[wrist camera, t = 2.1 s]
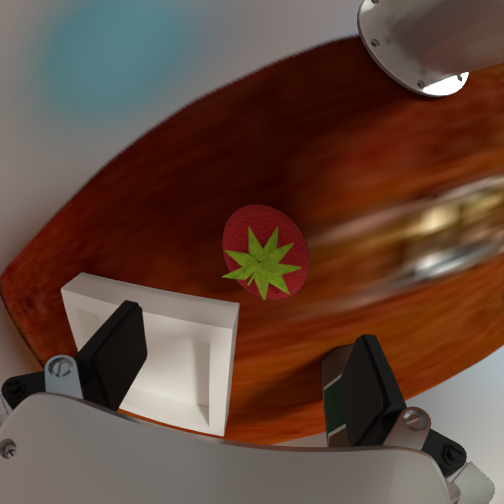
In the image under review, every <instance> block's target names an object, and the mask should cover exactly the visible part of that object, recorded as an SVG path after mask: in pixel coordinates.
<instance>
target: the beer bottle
mask: <svg viewBox="0 0 504 504" xmlns="http://www.w3.org/2000/svg"><path fill="white" fill-rule="evenodd" d="M354 345H355V344H350V345H344V346H338V347H337V348H336V349H335V350H334V351H333V352H332V353H330V354H329V355H328V356H327V357H326V358H325V359H323V360H322V362H321V378H322V394H323V403H324V413H325V423H326V434H327V446H328V447H350V446H349V442H348V436H347V430H346V424H345V419H344V413H343V408H342V403H341V397H340V392H339V387H338V386H339V380H340V378H341V375H342V373H343V371H344V369H345V366H346V364H347V362H348V359H349V357H350V354H351V352H352V350H353V347H354Z"/></svg>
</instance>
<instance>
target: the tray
mask: <svg viewBox="0 0 504 504" xmlns="http://www.w3.org/2000/svg"><path fill="white" fill-rule="evenodd" d="M61 293H62V297H63V301H64V305H65V309H66V313H67V316H68V320H69V323H70V327H71V330H72V333H73V337H74V340H75V343H76V346H77V349H78V352H79V351H80V350H81V348H82V347H83V346H84V345H85V344H86V343H87V341H88V340H89V339H90V338H91V337H92V336H93V335H94V334H95V332H96V331H97V330H98V329H99V328H100V327H101V326H102V325H103V323H104V322H105V321H106V320H107V319H108V318H109V317H110V316H111V315H112V314H113V312H114V311H115V310H116V309H117V308H118V307H119V306H120V305H121V304H122V303H123V302H124V301H125V300H129V301H133V302H137V303H138V304H139V306H141V307H142V312H143V321H144V329H145V337H146V344H147V351H148V355H147V359H146V361H145V363H144V364H143V366H142V368H141V369H140V371H139V373H138V375H137V376H136V378H135V380H134V382H133V383H132V385H131V387H130V389H129V391H128V392H127V394H126V396H125V398H124V399H123V401H122V403H121V405H120V407H119V408H121V409H124V410H126V411H129V412H132V413H135V414H138V415H141V416H144V417H147V418H150V419H153V420H157V421H160V422H163V423H167V424H171V425H174V426H178V427H182V428H186V429H190V430H195V431H199V432H204V433H209V434H214V435H219V436H224V432H225V427H226V422H227V418H228V413H229V403H230V393H231V382H232V372H233V363H234V353H235V343H236V333H237V323H238V314H239V304H240V303H234V302H228V301H222V300H216V299H210V298H204V297H198V296H193V295H187V294H182V293H176V292H171V291H166V290H161V289H155V288H151V287H146V286H141V285H136V284H131V283H127V282H122V281H118V280H113V279H109V278H104V277H100V276H96V275H92V274H87V273H83V272H82V273H80V274H79V275H78V276H76V277H75V278H74V279H72V280H71V281H70V282H68V283H67V284H66V285H65V286H63V287H62V288H61Z"/></svg>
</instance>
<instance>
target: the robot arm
mask: <svg viewBox="0 0 504 504" xmlns="http://www.w3.org/2000/svg"><path fill="white" fill-rule="evenodd" d="M357 26H358V30H359V35H360V37H361V39H362V42H363V44H364V46H365V48H366V49H367V51H368V53H369V54H370V56H371V57H372V58H373V60H374V61H375V62H376V63H377V65H378V66H379V67H380V68H381V69H382V70H383V71H384V72H385V73H386V74H387V75H388V76H389V77H391V78H392V79H393V80H395V81H396V82H397V83H398V84H400V85H402V86H403V87H405V88H407V89H408V90H411V91H413V92H415V93H418V94H420V95H424V96H428V97H442V96H448V95H450V94H453V93H455V92H457V91H458V90H460V89H461V88H462V86H463V85H464V84H465V82H466V79H467V77H468V72H471V71H474V70H478V69H481V68H485V67H489V66H493V65H496V64H500V63H504V0H363V2H362V4H361V6H360V8H359V11H358V14H357ZM372 44H373V45H374V46H375V47H374V46H373V45H372ZM418 85H419V86H418ZM147 355H148V351H147V344H146V337H145V329H144V321H143V312H142V307H141V306H139V304H138V303H137V302H133V301H129V300H125V301H124V302H123V303H122V304H121V305H120V306H119V307H118V308H117V309H116V310H115V311H114V312H113V314H112V315H111V316H110V317H109V318H108V319H107V320H106V321H105V322H104V323H103V325H102V326H101V327H100V328H99V329H98V330H97V331H96V332H95V334H94V335H93V336H92V337H91V338H90V339H89V340H88V341H87V343H86V344H85V345H84V346H83V347H82V348H81V350H80V351H79V352H78V353H77V355H76V356H75V357H74V358H72V357H70V356H67V355H58V356H54V357H53V358H51V359H50V360H49V361H48V362H47V363H46V365H45V371H42V372H36V373H31V374H26V375H21V376H15V377H11V378H9V379H7V380H6V382H4V384H3V386H2V390H1V391H0V504H488V503H489V502H490V501H491V499H492V498H493V495H494V493H495V487H494V484H493V482H492V481H491V480H490V479H489V478H488V477H487V476H486V475H485V474H483V473H482V472H481V471H480V470H479V469H478V468H477V467H476V466H475V465H474V464H473V463H472V462H471V461H470V462H468V463H467V462H466V457H467V456H466V452H465V450H464V448H463V447H462V446H461V445H460V444H458V443H456V442H454V441H452V440H450V439H449V438H447V437H445V436H443V435H441V434H439V433H438V432H436V431H434V430H432V429H431V428H430V426H431V419H430V417H429V415H428V414H427V413H426V412H425V411H424V410H422V409H420V408H417V407H408V408H407V406H406V404H405V401H404V399H403V396H402V394H401V391H400V389H399V386H398V384H397V381H396V379H395V377H394V374H393V372H392V369H391V367H390V366H389V364H388V362H387V360H386V357H385V355H384V353H383V351H382V348H381V346H380V344H379V342H378V340H377V337H376V336H375V335H365V334H363V335H362V336H361V337H358V338H357V340H356V342H355V345H354V347H353V350H352V352H351V354H350V357H349V359H348V362H347V364H346V366H345V369H344V371H343V373H342V375H341V378H340V380H339V386H338V387H339V392H340V397H341V403H342V408H343V413H344V419H345V424H346V430H347V436H348V442H349V446H350V447H324V448H323V447H322V448H321V447H316V448H315V447H286V446H273V445H262V444H253V443H244V442H237V441H230V440H224V439H218V438H213V437H207V436H202V435H198V434H193V433H188V432H184V431H180V430H176V429H172V428H168V427H164V426H161V425H157V424H154V423H150V422H147V421H144V420H141V419H137V418H134V417H131V416H128V415H125V414H122V413H119V412H117V410H118V408H119V407H120V405H121V403H122V401H123V399H124V398H125V396H126V394H127V392H128V391H129V389H130V387H131V385H132V383H133V382H134V380H135V378H136V376H137V375H138V373H139V371H140V369H141V368H142V366H143V364H144V363H145V361H146V359H147Z"/></svg>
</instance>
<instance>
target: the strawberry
mask: <svg viewBox="0 0 504 504" xmlns="http://www.w3.org/2000/svg"><path fill="white" fill-rule="evenodd" d="M222 244H223V255H224V259H225V262H226V264H227V267H228V269H229V271H230V272H231V273H229V274H227V275H224V276H222V277H223V278H232V279H236V281H237V282H238V283H239V284H240V285H241V286H242V287H243V288H245V289H246V290H247V291H249V292H250V293H252V294H254V295H256V296H258V297H261V298H263V300H265V299H268V300H281V299H285V298H288V297H291V296H292V295H294V294H295V293H297V292H298V291H299V290H300V288H301V287H302V286H303V284H304V282H305V280H306V277H307V274H308V270H309V262H310V258H309V250H308V246H307V243H306V240H305V238H304V236H303V234H302V232H301V231H300V229H299V228H298V226H297V225H296V224H295V223H294V222H293V221H292V220H291V219H290V218H289V217H288V216H287V215H285V214H284V213H282V212H281V211H279V210H277V209H275V208H273V207H270V206H266V205H259V204H253V205H247V206H244V207H242V208H240V209H238V210H237V211H235V212H234V213H233V214H232V215H231V216H230V218H229V219H228V220H227V223H226V225H225V228H224V233H223V242H222Z"/></svg>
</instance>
